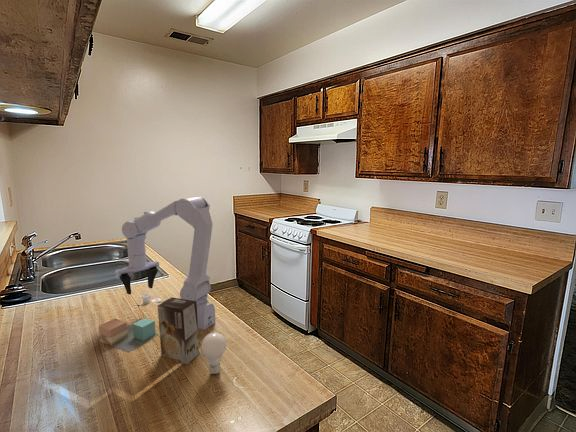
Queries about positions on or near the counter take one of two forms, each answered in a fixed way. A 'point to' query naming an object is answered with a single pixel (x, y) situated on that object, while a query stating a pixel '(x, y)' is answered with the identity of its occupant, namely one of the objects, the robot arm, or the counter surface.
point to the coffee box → (178, 329)
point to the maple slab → (113, 338)
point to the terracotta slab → (112, 327)
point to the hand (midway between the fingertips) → (140, 290)
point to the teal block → (144, 329)
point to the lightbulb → (213, 350)
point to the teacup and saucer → (149, 299)
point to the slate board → (130, 341)
